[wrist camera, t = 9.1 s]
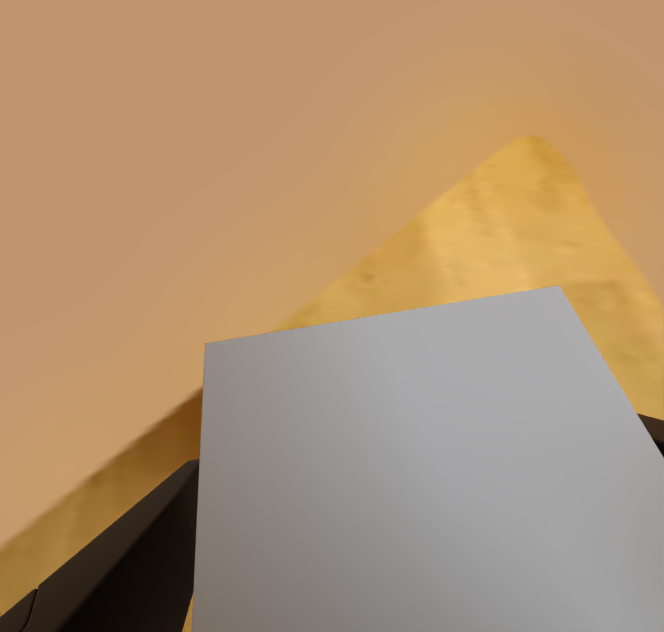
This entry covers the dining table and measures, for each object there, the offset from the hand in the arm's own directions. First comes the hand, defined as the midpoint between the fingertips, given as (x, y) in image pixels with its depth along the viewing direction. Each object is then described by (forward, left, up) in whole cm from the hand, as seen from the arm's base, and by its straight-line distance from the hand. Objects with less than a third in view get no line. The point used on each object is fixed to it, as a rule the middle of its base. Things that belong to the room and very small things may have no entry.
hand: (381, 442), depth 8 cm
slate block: (-1, -1, -8) cm, 8 cm away
